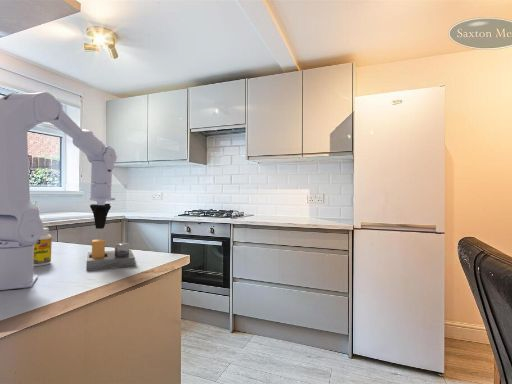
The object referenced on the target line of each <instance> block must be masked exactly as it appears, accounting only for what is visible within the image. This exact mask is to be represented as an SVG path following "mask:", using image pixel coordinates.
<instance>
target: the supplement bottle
mask: <svg viewBox="0 0 512 384" xmlns="http://www.w3.org/2000/svg"><path fill="white" fill-rule="evenodd" d="M43 228H44V229H43V233H42V236H41V237H40V238H39V240H38V241H37V244H34V261H33V267H40V266H46V265H49V264H50V263H51V262H52V245H53V244H52V242H53V237H52V234H50V228H49V227H43Z"/></svg>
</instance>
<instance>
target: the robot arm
mask: <svg viewBox="0 0 512 384" xmlns="http://www.w3.org/2000/svg"><path fill="white" fill-rule="evenodd" d="M43 123H49V124H51V125H52V126H54V127H56V128H57V129H58V130H60V131H62V132H63V134H65V135H67V136H68V137H70V138H71V139H72V144H73V146H74V147H76V148H77V149H79V151H81V152H82V153H83V154H85V156H86V157H87V160H88V162H89V163H91V167H90V168H91V169H90V171H91V173H90V174H91V175H90V197H89V201H94V202H96V203H92V204H89V207H90V209H91V211H92V214H93V220H94V226H95V229H96V230H97V229H100V230H101V229H105V227H106V222H107V219H108V218H107V217H108V213H109V212H110V210H111V207H112V206H111V203H106V202H109V201H110V202H111V201H116V198H115V197H112V179H113V178H112V176H113V175H112V174H113V170H114V168H115V164H116V162H117V158H118V157H117V156H118V155H117V153H116V150H115V148H113V147H111V146H109V145H106V144H104V143H103V141H101V140H100V139H99V138H98V137H96V135H95V134H94V132H93V131H92V130H88V129H82V128H81V127H80V126H79V125H78V124H77V123H76V122H75V121H74V120H73V119H72V118H71V117H70V116H69V115H68V114H67V113H66V112H65V110H63V107H62V102H60V101H59V100H58V99H56V97H55V96H53V94H51V93H50V92H46V91H40V92H29V93H28V92H24V93H15V92H11V93H8V94H5V95H3V96H2V97H0V291H6V290H14V289H23V288H24V289H26V288H31V287H32V286H33V285H34V283H35V282H36V280H37V279H38V276H39V275H34V266H33V261H34V244H37V241H38V240H39V238H40V237H41V236H42V233H43V229H44V228H45V227H44V224H43V221H42V219H41V216H40V210H39V208H37V206H36V205H34V203H33V202H32V201H31V199H30V198H31V197H30V195H31V194H30V175H29V174H30V173H29V170H30V169H29V147H28V144H29V143H28V132H29V131H31V130H32V129H34V127H36V126H38V125H39V124H43Z"/></svg>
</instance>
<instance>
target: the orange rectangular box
mask: <svg viewBox="0 0 512 384" xmlns="http://www.w3.org/2000/svg"><path fill="white" fill-rule="evenodd" d="M91 241H92V243H91V252H92V258H97V257H104V255H105V251H106V250H105V248H106V240H105V238H104V239H103V238H102V239H101V238H100V239H92V240H91Z"/></svg>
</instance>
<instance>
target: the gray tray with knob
mask: <svg viewBox="0 0 512 384" xmlns="http://www.w3.org/2000/svg"><path fill="white" fill-rule="evenodd" d="M135 259H136V258H135V255H134V253H133V251H132V249H130V243H129V242H120V243H115V244H114V250H105V255H104V257H97V258H92V251H89V252H87V256H86V263H85V264H86V266H85V267H86V270H85V271H97V270H107V269H108V270H109V269H117V268H120V269H121V268H131V267H135V263H136V260H135Z"/></svg>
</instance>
